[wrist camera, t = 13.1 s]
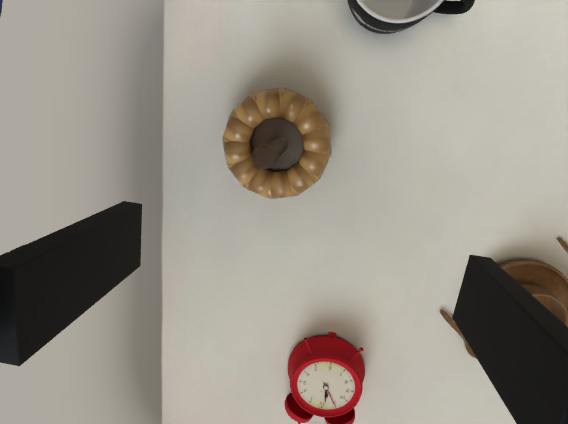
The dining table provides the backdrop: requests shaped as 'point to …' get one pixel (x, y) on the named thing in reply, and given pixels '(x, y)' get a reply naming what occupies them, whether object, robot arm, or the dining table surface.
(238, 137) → the segmented ring
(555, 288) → the place setting
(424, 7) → the mug
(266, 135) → the peg
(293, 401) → the alarm clock
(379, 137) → the dining table surface
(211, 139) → the dining table surface
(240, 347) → the dining table surface
